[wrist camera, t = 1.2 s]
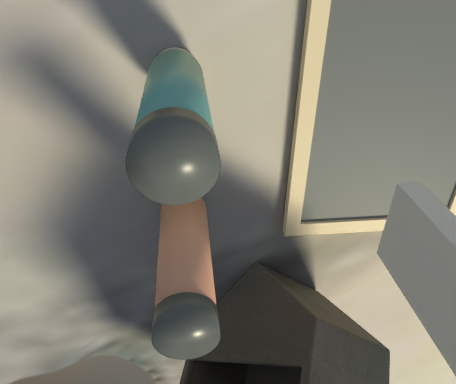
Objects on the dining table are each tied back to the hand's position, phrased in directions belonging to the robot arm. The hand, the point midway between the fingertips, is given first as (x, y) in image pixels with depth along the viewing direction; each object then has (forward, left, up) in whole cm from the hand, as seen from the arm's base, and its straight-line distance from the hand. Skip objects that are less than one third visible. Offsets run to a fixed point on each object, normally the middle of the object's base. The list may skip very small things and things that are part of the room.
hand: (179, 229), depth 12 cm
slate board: (+16, -4, -17) cm, 23 cm away
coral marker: (0, -10, -17) cm, 19 cm away
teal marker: (0, 0, -17) cm, 17 cm away
